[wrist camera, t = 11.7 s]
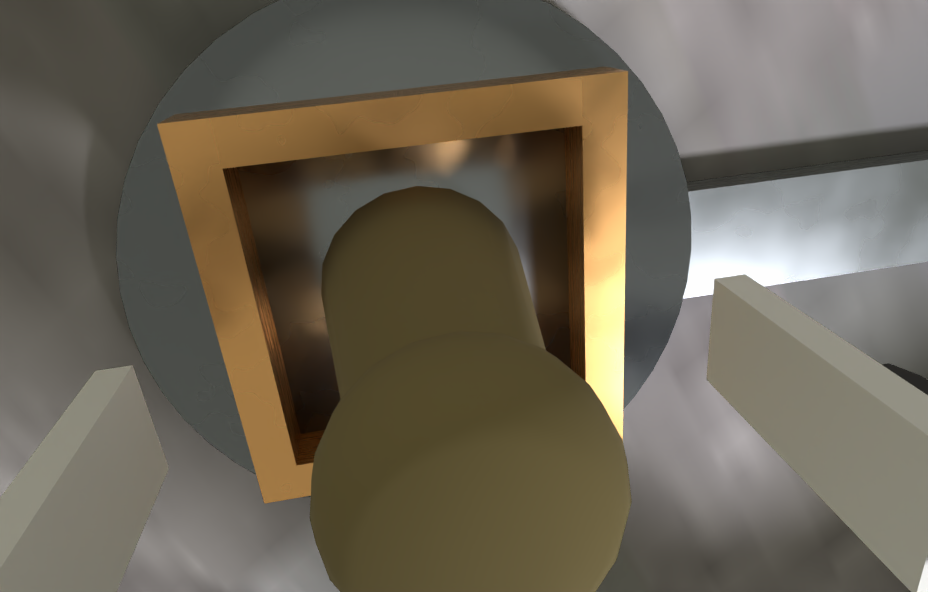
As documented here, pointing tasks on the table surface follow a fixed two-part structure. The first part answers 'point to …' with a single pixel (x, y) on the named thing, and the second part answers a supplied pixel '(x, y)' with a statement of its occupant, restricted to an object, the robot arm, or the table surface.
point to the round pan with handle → (453, 167)
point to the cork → (455, 416)
